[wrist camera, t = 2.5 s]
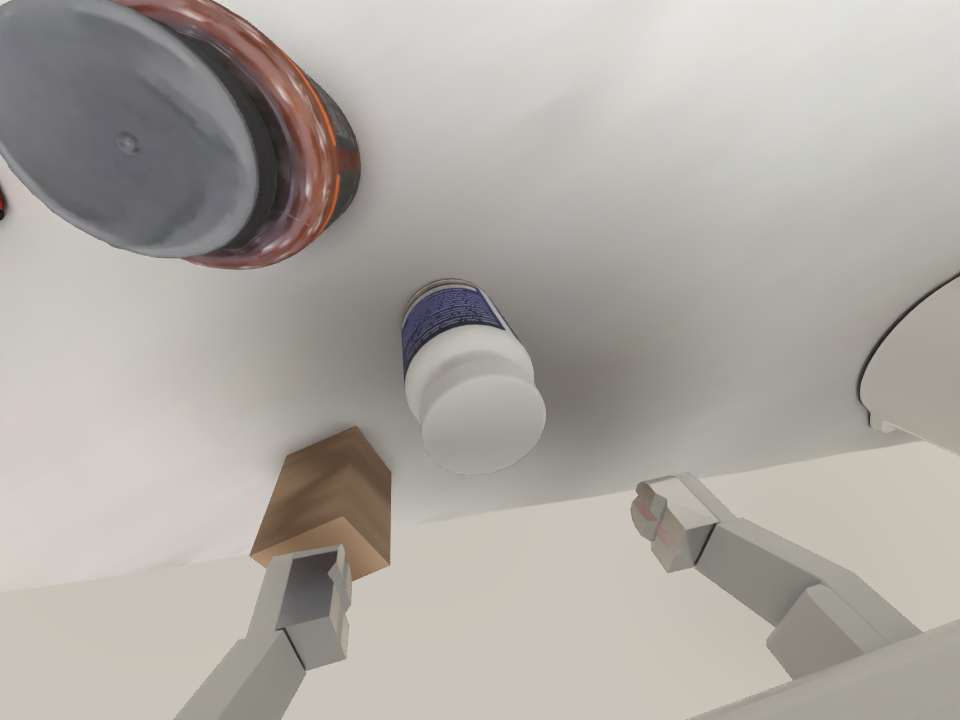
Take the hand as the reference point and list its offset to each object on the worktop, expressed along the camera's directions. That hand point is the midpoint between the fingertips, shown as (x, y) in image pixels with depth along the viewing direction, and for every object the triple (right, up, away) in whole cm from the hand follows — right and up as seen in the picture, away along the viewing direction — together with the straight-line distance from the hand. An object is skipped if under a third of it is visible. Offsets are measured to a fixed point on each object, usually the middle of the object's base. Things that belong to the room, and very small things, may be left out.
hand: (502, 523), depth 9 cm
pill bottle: (-2, +7, +12) cm, 14 cm away
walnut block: (-10, -3, +15) cm, 19 cm away
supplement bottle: (-9, +14, +6) cm, 18 cm away
